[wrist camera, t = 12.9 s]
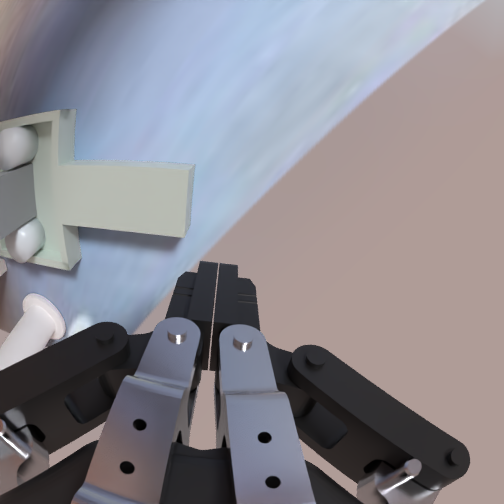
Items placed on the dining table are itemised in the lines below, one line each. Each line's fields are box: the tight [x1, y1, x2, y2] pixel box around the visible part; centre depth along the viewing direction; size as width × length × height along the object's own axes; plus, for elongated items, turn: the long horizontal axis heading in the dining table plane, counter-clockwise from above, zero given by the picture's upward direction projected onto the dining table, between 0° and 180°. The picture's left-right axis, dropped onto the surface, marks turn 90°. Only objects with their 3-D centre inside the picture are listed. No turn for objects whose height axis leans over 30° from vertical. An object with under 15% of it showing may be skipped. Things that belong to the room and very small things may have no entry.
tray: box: [0, 109, 195, 271], centre depth 17 cm, size 22×14×6 cm, turn 82°
